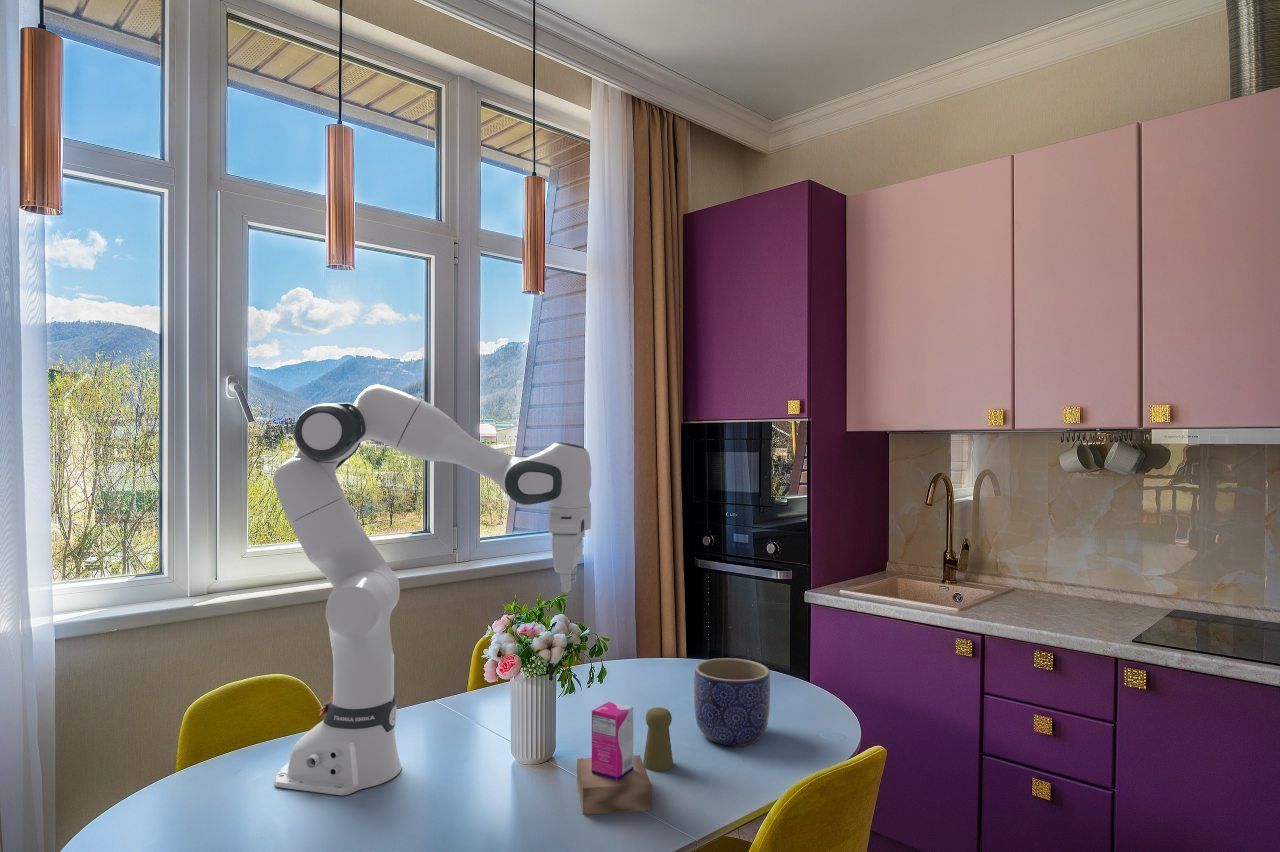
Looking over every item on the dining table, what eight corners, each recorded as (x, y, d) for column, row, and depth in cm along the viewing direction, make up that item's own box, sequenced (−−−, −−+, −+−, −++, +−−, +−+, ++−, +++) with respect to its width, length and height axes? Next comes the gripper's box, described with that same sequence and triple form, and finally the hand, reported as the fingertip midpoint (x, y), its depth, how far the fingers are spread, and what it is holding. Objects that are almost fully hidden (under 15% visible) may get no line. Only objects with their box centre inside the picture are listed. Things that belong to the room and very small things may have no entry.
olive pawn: (647, 772, 148) (648, 716, 148) (639, 759, 154) (640, 705, 154) (677, 769, 150) (677, 713, 150) (667, 756, 155) (668, 703, 156)
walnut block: (582, 817, 131) (583, 788, 132) (576, 785, 143) (577, 758, 143) (650, 812, 134) (651, 783, 134) (639, 781, 145) (639, 755, 145)
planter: (687, 747, 160) (688, 677, 160) (700, 719, 176) (700, 655, 176) (766, 756, 156) (767, 684, 156) (772, 726, 172) (772, 660, 172)
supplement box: (607, 761, 142) (608, 700, 142) (634, 769, 139) (635, 706, 139) (589, 773, 137) (591, 709, 137) (616, 781, 134) (618, 716, 134)
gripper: (561, 514, 168) (560, 577, 168) (547, 525, 148) (546, 597, 148) (589, 515, 168) (588, 577, 168) (579, 526, 148) (578, 597, 147)
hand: (568, 587), depth 158 cm, fingers open, 8 cm apart
